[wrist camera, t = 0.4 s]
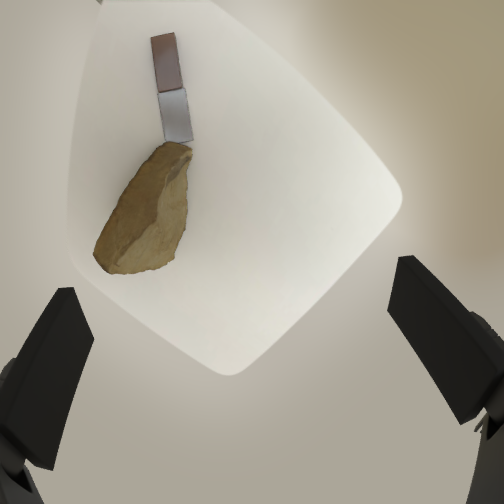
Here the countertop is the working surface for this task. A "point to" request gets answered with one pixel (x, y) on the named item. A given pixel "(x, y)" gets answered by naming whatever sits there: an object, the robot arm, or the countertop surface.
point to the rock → (147, 215)
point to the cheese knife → (171, 89)
